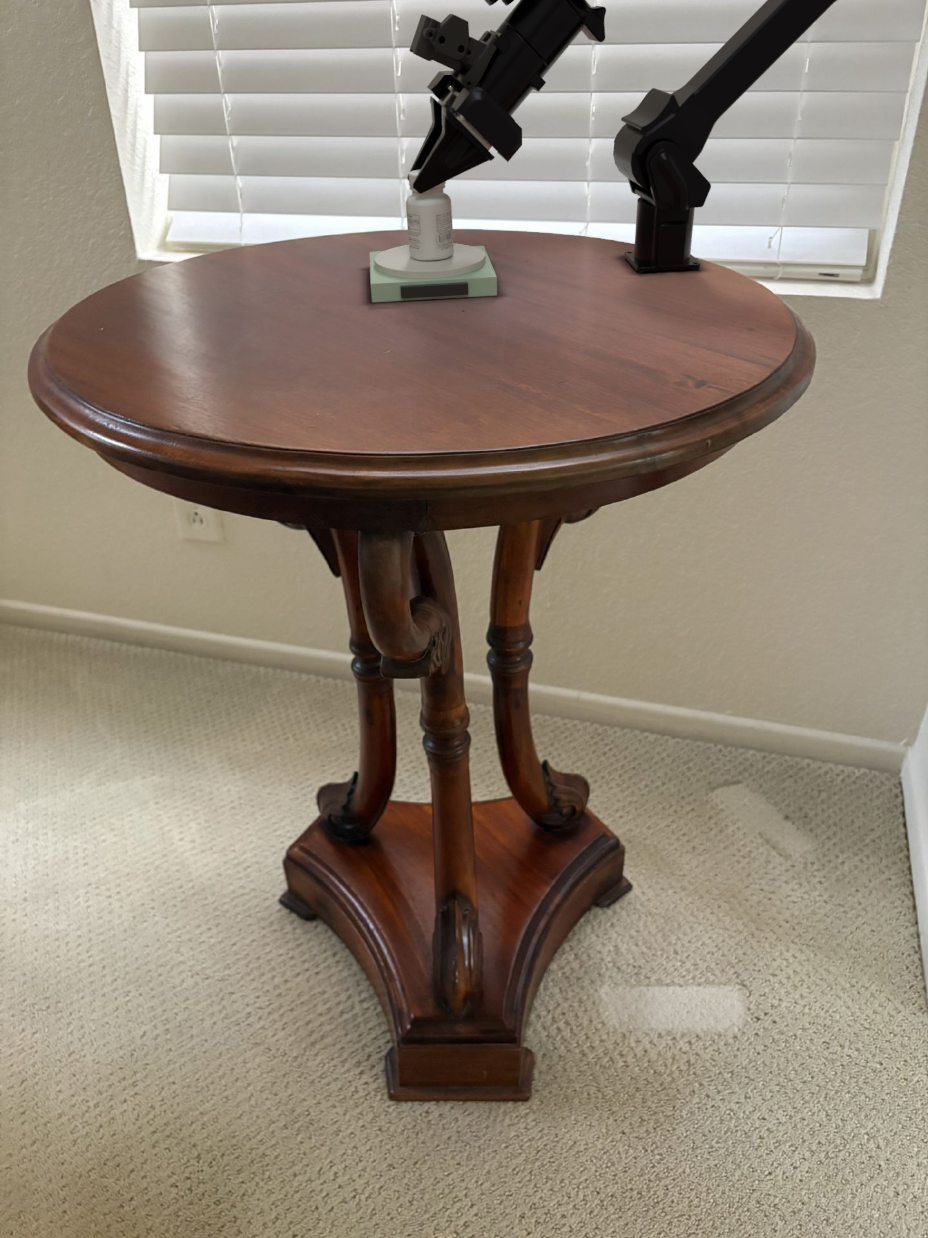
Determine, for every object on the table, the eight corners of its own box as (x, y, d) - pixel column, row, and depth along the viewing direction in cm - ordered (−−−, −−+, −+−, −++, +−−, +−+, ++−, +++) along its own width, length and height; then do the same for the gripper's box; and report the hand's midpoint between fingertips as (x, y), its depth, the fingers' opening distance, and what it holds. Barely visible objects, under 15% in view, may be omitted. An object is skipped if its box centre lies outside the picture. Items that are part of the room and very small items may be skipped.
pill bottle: (455, 249, 101) (450, 166, 97) (452, 260, 98) (448, 174, 93) (411, 250, 102) (405, 168, 97) (407, 262, 98) (401, 177, 94)
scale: (370, 269, 106) (368, 244, 104) (484, 263, 106) (483, 238, 105) (372, 303, 95) (369, 277, 94) (497, 296, 96) (497, 270, 95)
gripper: (444, -28, 95) (339, 110, 100) (481, -24, 79) (356, 139, 84) (526, 62, 100) (423, 189, 105) (576, 83, 85) (452, 230, 90)
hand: (413, 185), depth 96 cm, fingers closed on pill bottle, 3 cm apart
